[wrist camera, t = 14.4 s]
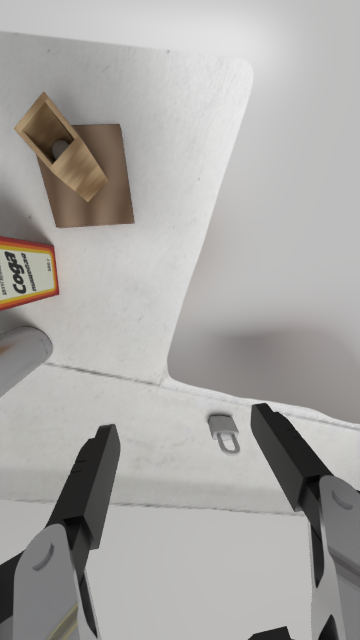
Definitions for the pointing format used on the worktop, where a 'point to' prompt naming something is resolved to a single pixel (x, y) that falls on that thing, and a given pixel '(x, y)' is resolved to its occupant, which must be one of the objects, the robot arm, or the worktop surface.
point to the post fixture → (111, 198)
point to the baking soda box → (26, 272)
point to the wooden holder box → (75, 161)
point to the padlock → (224, 432)
